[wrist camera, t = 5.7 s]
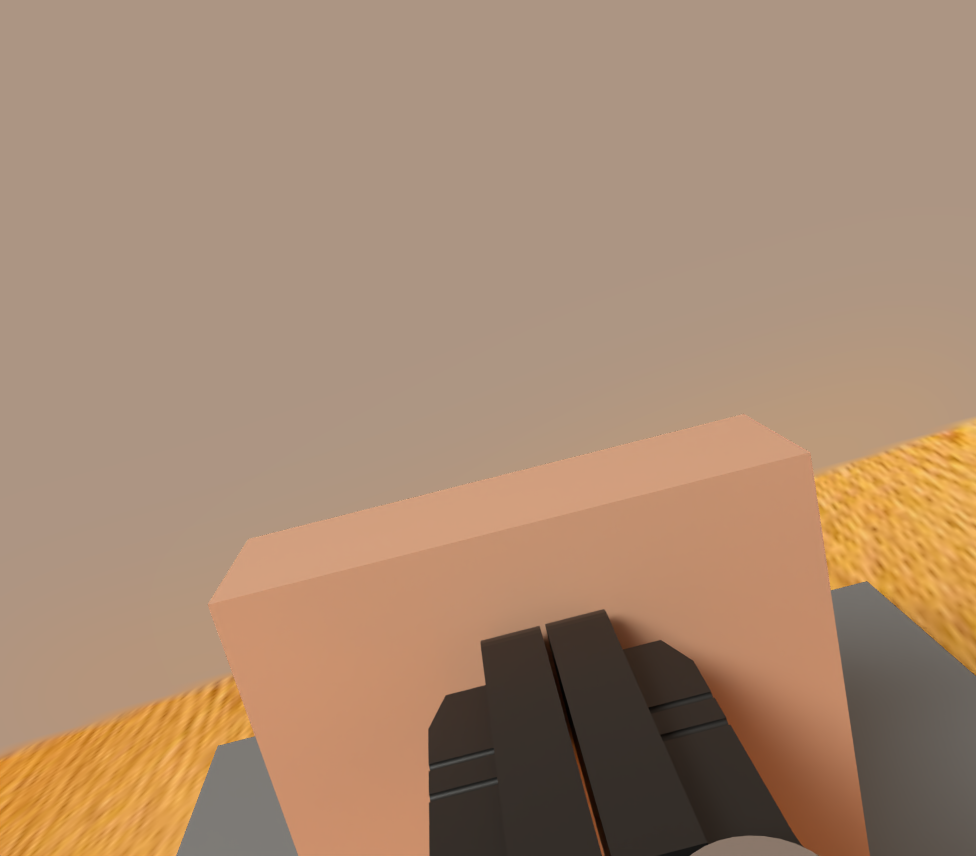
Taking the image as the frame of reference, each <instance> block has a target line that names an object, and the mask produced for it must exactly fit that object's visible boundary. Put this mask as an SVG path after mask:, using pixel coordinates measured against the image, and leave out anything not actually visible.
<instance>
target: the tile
mask: <svg viewBox="0 0 976 856" xmlns="http://www.w3.org/2000/svg"><path fill="white" fill-rule="evenodd" d="M208 606H209V609H210V612H211V615H212V618H213V621H214V623H215V626H216V629H217V632H218V634H219V637H220V640H221V642H222V646H223V648H224V651H225V654H226V657H227V659H228V662H229V665H230V668H231V671H232V673H233V676H234V679H235V682H236V684H237V687H238V690H239V693H240V695H241V698H242V701H243V704H244V707H245V709H246V712H247V715H248V718H249V720H250V723H251V726H252V729H253V731H254V734H255V737H256V740H257V743H258V745H259V748H260V751H261V754H262V756H263V759H264V762H265V765H266V767H267V770H268V773H269V776H270V779H271V781H272V784H273V787H274V790H275V792H276V795H277V798H278V801H279V803H280V806H281V809H282V812H283V815H284V817H285V820H286V823H287V826H288V828H289V831H290V834H291V837H292V839H293V842H294V845H295V848H296V851H297V853H298V856H429V802H430V797H429V771H430V769H429V763H428V728H429V727H430V725H431V723H432V721H433V719H434V717H435V715H436V713H437V711H438V709H439V707H440V705H441V703H442V701H443V699H444V698H445V696H446V695H448V694H452V693H456V692H460V691H464V690H468V689H472V688H476V687H480V686H484V685H486V684H485V676H484V668H483V660H482V652H481V644H480V642H481V640H485V639H489V638H493V637H497V636H501V635H505V634H509V633H513V632H517V631H520V630H524V629H528V628H532V627H536V626H540V629H541V632H542V636H543V640H544V643H545V647H546V651H547V654H548V658H549V662H550V665H551V669H552V673H553V677H554V680H555V684H556V688H557V691H558V695H559V699H560V702H561V706H562V710H563V713H564V717H565V721H566V725H567V728H568V732H569V736H570V739H571V743H572V747H573V750H574V754H575V758H576V762H577V765H578V769H579V773H580V776H581V780H582V784H583V787H584V791H585V795H586V798H587V802H588V806H589V810H590V813H591V817H592V821H593V824H594V828H595V832H596V835H597V839H598V843H599V846H600V850H601V854H602V856H605V855H604V852H603V848H602V844H601V841H600V837H599V833H598V830H597V826H596V822H595V819H594V815H593V812H592V808H591V804H590V801H589V797H588V793H587V790H586V786H585V782H584V779H583V775H582V771H581V767H580V763H579V760H578V756H577V752H576V748H575V744H574V740H573V736H572V732H571V728H570V724H569V720H568V716H567V712H566V708H565V704H564V700H563V696H562V692H561V688H560V684H559V680H558V676H557V672H556V668H555V664H554V660H553V656H552V652H551V648H550V644H549V640H548V635H547V631H546V627H545V624H547V623H551V622H555V621H559V620H563V619H566V618H570V617H574V616H578V615H582V614H586V613H590V612H594V611H598V610H602V609H604V610H605V611H606V613H607V615H608V617H609V619H610V622H611V624H612V626H613V629H614V631H615V633H616V635H617V638H618V640H619V642H620V645H621V647H622V649H627V648H631V647H635V646H639V645H643V644H647V643H650V642H654V641H658V640H662V641H663V642H665V643H667V644H668V645H670V646H671V647H673V648H674V649H676V650H677V651H679V652H681V653H682V654H684V655H685V656H687V657H688V658H690V659H691V660H693V661H694V663H695V664H696V666H697V668H698V670H699V671H700V673H701V675H702V677H703V678H704V680H705V682H706V683H707V685H708V687H709V689H710V690H711V693H712V696H713V698H715V699H716V701H717V702H718V704H719V706H720V708H721V709H722V711H723V713H724V714H725V716H726V718H727V722H728V724H729V725H731V727H732V728H733V730H734V732H735V733H736V735H737V737H738V739H739V740H740V742H741V744H742V745H743V747H744V749H745V751H746V752H747V754H748V756H749V758H750V759H751V761H752V763H753V764H754V766H755V768H756V770H757V771H758V773H759V775H760V777H761V778H762V780H763V782H764V783H765V785H766V787H767V789H768V790H769V792H770V794H771V795H772V797H773V799H774V801H775V802H776V804H777V806H778V808H779V809H780V811H781V813H782V814H783V816H784V818H785V820H786V821H787V823H788V825H789V827H790V828H791V830H792V832H793V833H794V835H795V836H796V837H797V839H798V840H799V842H800V843H801V845H802V846H803V847H804V848H806V849H808V850H811V851H812V852H814V853H815V854H817V855H818V856H870V853H869V846H868V840H867V833H866V826H865V819H864V813H863V806H862V799H861V792H860V786H859V779H858V772H857V765H856V759H855V752H854V745H853V738H852V731H851V725H850V718H849V711H848V704H847V698H846V691H845V684H844V677H843V671H842V664H841V657H840V650H839V643H838V637H837V630H836V623H835V616H834V610H833V603H832V596H831V589H830V583H829V576H828V569H827V562H826V556H825V549H824V542H823V535H822V528H821V522H820V515H819V508H818V501H817V495H816V488H815V481H814V474H813V468H812V461H811V454H810V452H809V451H807V450H805V449H803V448H802V447H800V446H798V445H796V444H795V443H793V442H791V441H790V440H788V439H786V438H785V437H783V436H781V435H779V434H777V433H776V432H774V431H772V430H771V429H769V428H767V427H765V426H764V425H762V424H760V423H759V422H757V421H755V420H753V419H752V418H750V417H748V416H746V415H745V414H742V415H738V416H734V417H730V418H727V419H722V420H718V421H714V422H710V423H706V424H702V425H698V426H695V427H691V428H686V429H683V430H679V431H674V432H670V433H667V434H663V435H659V436H655V437H651V438H647V439H643V440H639V441H635V442H631V443H627V444H623V445H619V446H615V447H611V448H607V449H603V450H599V451H595V452H591V453H587V454H583V455H579V456H575V457H571V458H568V459H563V460H560V461H556V462H552V463H548V464H544V465H540V466H536V467H532V468H528V469H524V470H520V471H516V472H512V473H508V474H504V475H500V476H496V477H492V478H488V479H484V480H480V481H477V482H472V483H468V484H464V485H461V486H457V487H453V488H449V489H445V490H440V491H437V492H433V493H429V494H425V495H421V496H417V497H413V498H409V499H405V500H401V501H397V502H393V503H389V504H385V505H381V506H377V507H373V508H369V509H365V510H361V511H357V512H354V513H349V514H346V515H341V516H338V517H333V518H330V519H326V520H322V521H318V522H314V523H310V524H306V525H302V526H298V527H294V528H290V529H286V530H282V531H278V532H274V533H270V534H266V535H262V536H258V537H254V538H250V539H248V540H247V541H246V543H245V545H244V546H243V548H242V550H241V551H240V553H239V555H238V556H237V558H236V559H235V561H234V563H233V564H232V566H231V567H230V569H229V571H228V572H227V574H226V576H225V577H224V579H223V580H222V582H221V584H220V585H219V587H218V589H217V590H216V592H215V594H214V595H213V597H212V598H211V600H210V602H209V603H208Z"/></svg>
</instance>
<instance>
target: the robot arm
mask: <svg viewBox="0 0 976 856" xmlns="http://www.w3.org/2000/svg"><path fill="white" fill-rule="evenodd" d="M545 627H546V631H547V635H548V640H549V644H550V648H551V652H552V656H553V660H554V664H555V668H556V672H557V676H558V680H559V684H560V688H561V692H562V696H563V700H564V704H565V708H566V712H567V716H568V720H569V724H570V728H571V732H572V736H573V740H574V744H575V748H576V752H577V756H578V760H579V763H580V767H581V771H582V775H583V779H584V782H585V786H586V790H587V793H588V797H589V801H590V804H591V808H592V812H593V815H594V819H595V822H596V826H597V830H598V833H599V837H600V841H601V844H602V848H603V852H604V855H605V856H818V855H817V854H815V853H814V852H812V851H811V850H808V849H806V848H804V847H803V846H802V845H801V843H800V842H799V840H798V839H797V837H796V836H795V835H794V833H793V832H792V830H791V828H790V827H789V825H788V823H787V821H786V820H785V818H784V816H783V814H782V813H781V811H780V809H779V808H778V806H777V804H776V802H775V801H774V799H773V797H772V795H771V794H770V792H769V790H768V789H767V787H766V785H765V783H764V782H763V780H762V778H761V777H760V775H759V773H758V771H757V770H756V768H755V766H754V764H753V763H752V761H751V759H750V758H749V756H748V754H747V752H746V751H745V749H744V747H743V745H742V744H741V742H740V740H739V739H738V737H737V735H736V733H735V732H734V730H733V728H732V727H731V725H729V724H728V722H727V718H726V716H725V714H724V713H723V711H722V709H721V708H720V706H719V704H718V702H717V701H716V699H715V698H713V696H712V693H711V690H710V689H709V687H708V685H707V683H706V682H705V680H704V678H703V677H702V675H701V673H700V671H699V670H698V668H697V666H696V664H695V663H694V661H693V660H691V659H690V658H688V657H687V656H685V655H684V654H682V653H681V652H679V651H677V650H676V649H674V648H673V647H671V646H670V645H668V644H667V643H665V642H663V641H662V640H658V641H654V642H650V643H647V644H643V645H639V646H635V647H631V648H627V649H622V647H621V645H620V642H619V640H618V638H617V635H616V633H615V631H614V629H613V626H612V624H611V622H610V619H609V617H608V615H607V613H606V611H605V610H604V609H602V610H598V611H594V612H590V613H586V614H582V615H578V616H574V617H570V618H566V619H563V620H559V621H555V622H551V623H547V624H545ZM480 644H481V652H482V660H483V668H484V676H485V684H486V685H484V686H480V687H476V688H472V689H468V690H464V691H460V692H456V693H452V694H448V695H446V696H445V698H444V699H443V701H442V703H441V705H440V707H439V709H438V711H437V713H436V715H435V717H434V719H433V721H432V723H431V725H430V727H429V728H428V763H429V769H430V771H429V797H430V802H429V856H602V854H601V850H600V846H599V843H598V839H597V835H596V832H595V828H594V824H593V821H592V817H591V813H590V810H589V806H588V802H587V798H586V795H585V791H584V787H583V784H582V780H581V776H580V773H579V769H578V765H577V762H576V758H575V754H574V750H573V747H572V743H571V739H570V736H569V732H568V728H567V725H566V721H565V717H564V713H563V710H562V706H561V702H560V699H559V695H558V691H557V688H556V684H555V680H554V677H553V673H552V669H551V665H550V662H549V658H548V654H547V651H546V647H545V643H544V640H543V636H542V632H541V629H540V626H536V627H532V628H528V629H524V630H520V631H517V632H513V633H509V634H505V635H501V636H497V637H493V638H489V639H485V640H481V642H480Z"/></svg>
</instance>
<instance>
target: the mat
mask: <svg viewBox="0 0 976 856" xmlns="http://www.w3.org/2000/svg"><path fill="white" fill-rule="evenodd" d="M831 596H832V603H833V610H834V616H835V623H836V630H837V637H838V643H839V650H840V657H841V664H842V671H843V677H844V684H845V691H846V698H847V704H848V711H849V718H850V725H851V731H852V738H853V745H854V752H855V759H856V765H857V772H858V779H859V786H860V792H861V799H862V806H863V813H864V819H865V826H866V833H867V840H868V846H869V853H870V856H976V676H975V675H974V674H973V673H972V672H970V671H969V670H968V669H967V668H966V667H965V666H964V665H962V664H961V663H960V662H959V661H958V660H957V659H956V658H954V657H953V656H952V655H951V654H950V653H949V652H947V651H946V650H945V649H944V648H943V647H942V646H941V645H939V644H938V643H937V642H936V641H935V640H934V639H933V638H931V637H930V636H929V635H928V634H927V633H926V632H925V631H923V630H922V629H921V628H920V627H919V626H918V625H916V624H915V623H914V622H913V621H912V620H911V619H910V618H908V617H907V616H906V615H905V614H904V613H903V612H902V611H900V610H899V609H898V608H897V607H896V606H895V605H893V604H892V603H891V602H890V601H889V600H888V599H887V598H885V597H884V596H883V595H882V594H881V593H880V592H879V591H877V590H876V589H875V588H874V587H873V586H872V585H871V584H869V583H868V582H867V581H866V582H862V583H858V584H855V585H851V586H847V587H843V588H839V589H835V590H831ZM176 856H298V853H297V851H296V848H295V845H294V842H293V839H292V837H291V834H290V831H289V828H288V826H287V823H286V820H285V817H284V815H283V812H282V809H281V806H280V803H279V801H278V798H277V795H276V792H275V790H274V787H273V784H272V781H271V779H270V776H269V773H268V770H267V767H266V765H265V762H264V759H263V756H262V754H261V751H260V748H259V745H258V743H257V740H256V737H251V738H247V739H243V740H239V741H235V742H231V743H227V744H223V745H219V746H218V747H217V750H216V752H215V755H214V758H213V760H212V763H211V765H210V768H209V771H208V773H207V776H206V779H205V781H204V784H203V787H202V789H201V792H200V795H199V797H198V800H197V803H196V805H195V808H194V810H193V813H192V816H191V818H190V821H189V824H188V826H187V829H186V832H185V834H184V837H183V840H182V842H181V845H180V847H179V850H178V853H177V855H176Z"/></svg>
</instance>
